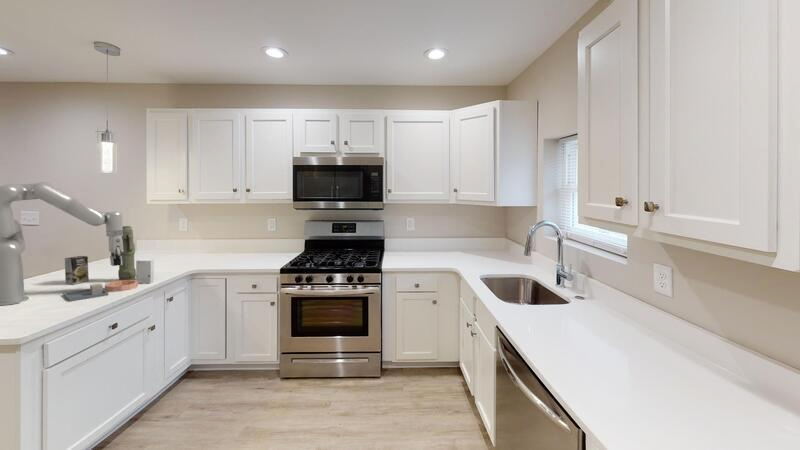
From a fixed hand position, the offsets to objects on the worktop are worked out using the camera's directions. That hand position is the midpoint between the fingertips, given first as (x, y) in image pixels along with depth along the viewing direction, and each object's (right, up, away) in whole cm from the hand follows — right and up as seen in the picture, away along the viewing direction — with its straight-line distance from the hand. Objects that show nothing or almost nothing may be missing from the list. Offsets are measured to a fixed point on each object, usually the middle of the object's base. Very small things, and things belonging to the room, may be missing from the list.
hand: (116, 264), depth 209 cm
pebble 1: (-5, -16, -8) cm, 18 cm away
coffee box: (-35, -13, +14) cm, 41 cm away
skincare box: (+3, -14, +20) cm, 24 cm away
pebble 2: (0, 0, 0) cm, 0 cm away
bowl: (0, -15, +4) cm, 16 cm away
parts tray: (-8, -16, -11) cm, 21 cm away
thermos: (-11, -13, +23) cm, 29 cm away
